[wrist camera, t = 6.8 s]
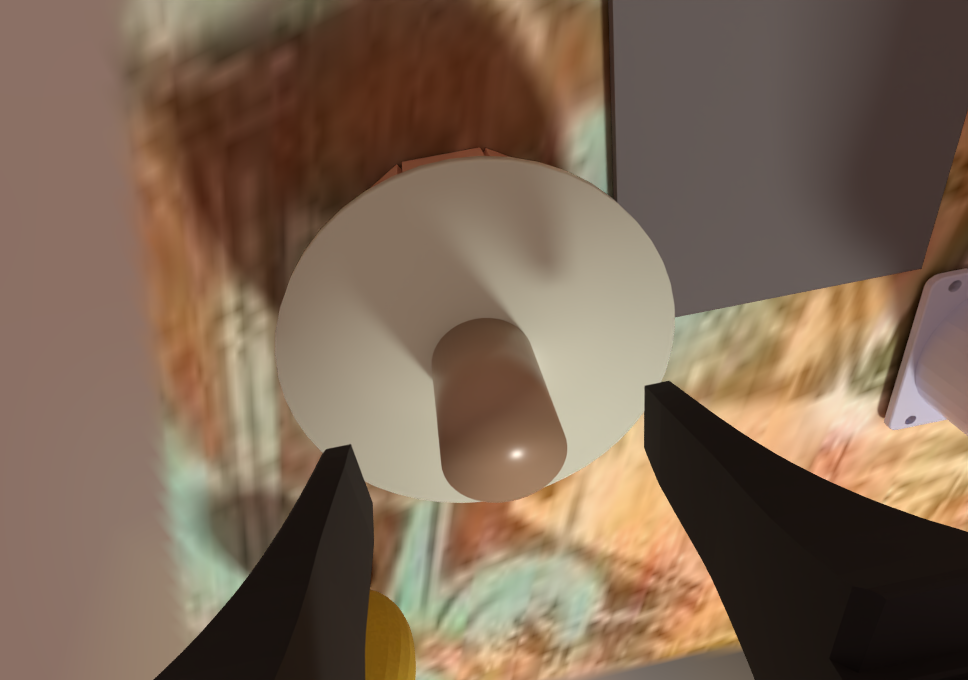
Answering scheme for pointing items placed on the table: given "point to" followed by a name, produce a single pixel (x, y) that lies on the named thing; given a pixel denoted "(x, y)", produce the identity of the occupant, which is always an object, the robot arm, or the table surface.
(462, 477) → the lid
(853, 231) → the mat
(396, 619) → the lemon
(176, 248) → the table surface
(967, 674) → the robot arm
